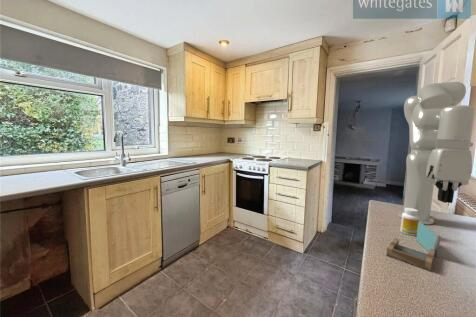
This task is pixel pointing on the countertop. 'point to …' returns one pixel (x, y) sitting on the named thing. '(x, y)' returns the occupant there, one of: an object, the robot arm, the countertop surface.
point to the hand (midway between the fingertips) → (444, 201)
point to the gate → (428, 238)
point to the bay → (410, 255)
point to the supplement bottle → (409, 222)
